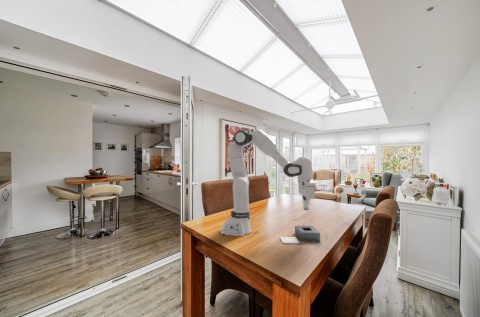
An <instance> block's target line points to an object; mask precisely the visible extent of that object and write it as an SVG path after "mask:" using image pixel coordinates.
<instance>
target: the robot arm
mask: <svg viewBox="0 0 480 317" xmlns="http://www.w3.org/2000/svg"><path fill="white" fill-rule="evenodd" d="M233 141H234V142H231V143H229V144H228V146H227V156H228V157H227V158H228V162H229V163H228V164H229V170H230V172H231V175H232V178H233V179H232V180H233V182H232V198H233V209H231V210H230V216H229V217H228V218H226V219H225V220H224V222H223V225H222V227H220V229H219V234H220V233H221V234H220V235H222V234H225V236H235V237H243V236H245V235H248V234H250V233H251V232H252V226H251V222H250V218H251V217H250V216H251V212H250V198H249V196H250V195H249V187H250V180H249V176H248V173H247V172H248V171H247V166H246V163H245V157H244V152H243V150H244V149H246V148H247V147H250V146H251V145H252V144H253V145H254V146H255V147H256V148H257V149H258V150H259V151H260V152H261V153H263V154H264V155H266V156H268V157H270V158H272V159H273V160H274V161H275V162H276V163H277V164H278V165H279V166H280V167H281V169H282V171H283V173H284V175H285V176H287V177H289V178H294V177H297V181H298V182H297V183H298V191H297V192H298V195H301V197H302V198H301V199H303V196H305V197H306V204H309V205H310V200H311V199H313V200H314V199H315V194H316V190H315V186H316V183H315V180H313V175H312V173H313V166H312V165H313V164H312V161H311V159H310V158H308V157H298V158H296V159H295V160H293V161H289V160H287V159H286V158H285V156H284V155H283V154H281V152H280V151H279V149H278V146H277V144H276V143H275V141H274V140H273V139H272V138H271V136H269V135H268V134H267V133H266V132H265V131H263V130H261V129H255V130H253V131H252V132H251V131H247V130H245V129H244V130H243V129H241V130H238V131H236V132H235V133H234V136H233Z"/></svg>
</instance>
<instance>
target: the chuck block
mask: <svg viewBox="0 0 480 317" xmlns="http://www.w3.org/2000/svg"><path fill="white" fill-rule="evenodd" d="M294 234H295V235H296V236H297V238H298V239H299V242H320V241H321V232H320V231H319V230H318V229H316V227H314V225H294Z"/></svg>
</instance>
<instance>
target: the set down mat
mask: <svg viewBox="0 0 480 317" xmlns="http://www.w3.org/2000/svg"><path fill="white" fill-rule="evenodd" d="M279 239H280V241H281V243H282V244H284V245H287V244H291V245H295V244H296V245H297V244H298V245H300V240H298V239H297V237H296V236H280V237H279Z"/></svg>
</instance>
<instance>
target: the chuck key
mask: <svg viewBox="0 0 480 317" xmlns="http://www.w3.org/2000/svg"><path fill="white" fill-rule="evenodd" d="M302 204H303V210H304V211H310V203H309V204H306V197H305V196H303V198H302Z"/></svg>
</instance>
